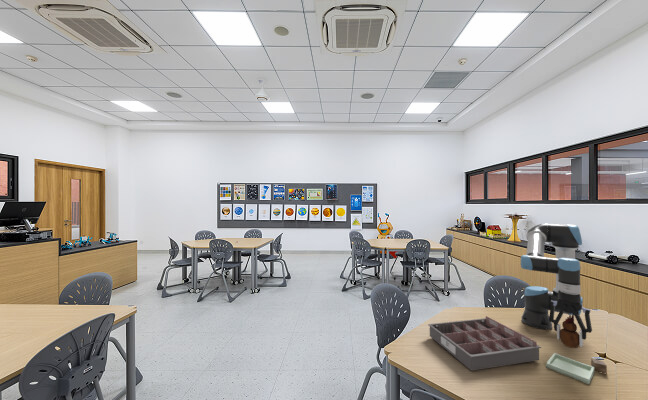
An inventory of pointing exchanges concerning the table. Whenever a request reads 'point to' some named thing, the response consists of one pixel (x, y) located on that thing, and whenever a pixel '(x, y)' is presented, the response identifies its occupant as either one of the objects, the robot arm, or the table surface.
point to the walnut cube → (599, 365)
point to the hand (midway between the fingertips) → (569, 341)
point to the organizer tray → (484, 343)
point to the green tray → (571, 368)
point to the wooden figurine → (569, 333)
